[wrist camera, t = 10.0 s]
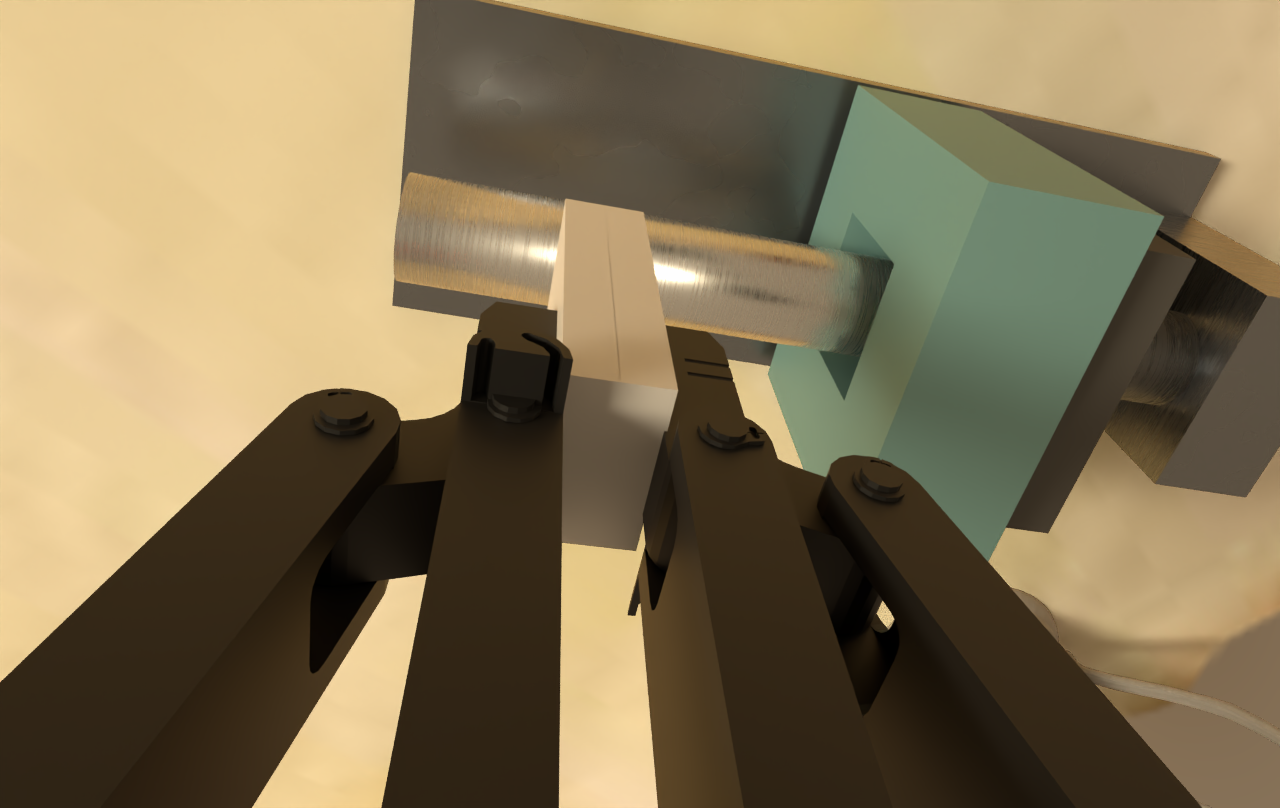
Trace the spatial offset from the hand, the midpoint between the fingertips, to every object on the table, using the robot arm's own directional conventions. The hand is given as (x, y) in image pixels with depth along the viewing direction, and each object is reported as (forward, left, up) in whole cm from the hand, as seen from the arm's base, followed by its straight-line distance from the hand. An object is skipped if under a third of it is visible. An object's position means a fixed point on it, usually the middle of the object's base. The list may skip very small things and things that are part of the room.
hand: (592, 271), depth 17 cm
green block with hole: (+10, -2, -11) cm, 15 cm away
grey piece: (+7, -2, -13) cm, 15 cm away
